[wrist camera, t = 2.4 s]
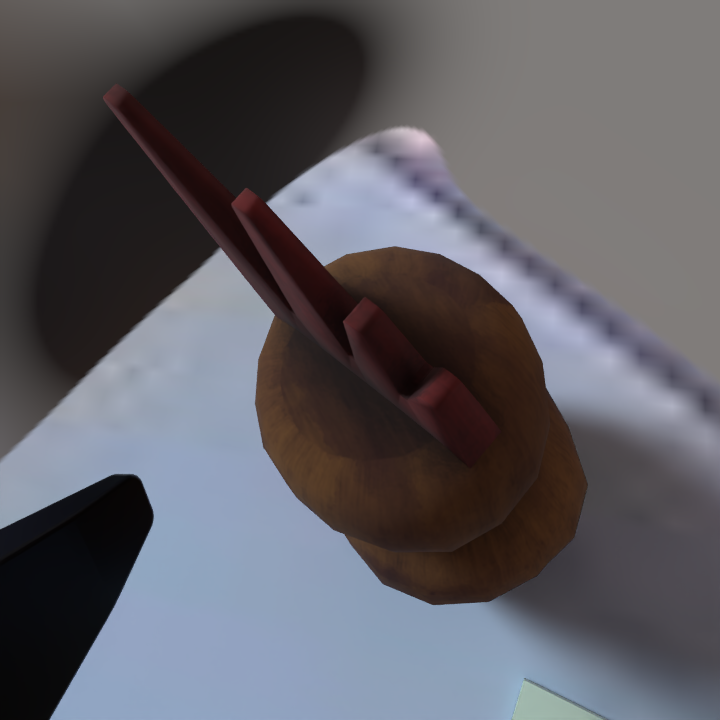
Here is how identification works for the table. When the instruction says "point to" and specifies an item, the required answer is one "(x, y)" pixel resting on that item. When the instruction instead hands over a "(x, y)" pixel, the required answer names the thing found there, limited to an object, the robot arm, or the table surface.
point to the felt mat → (547, 705)
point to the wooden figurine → (395, 397)
